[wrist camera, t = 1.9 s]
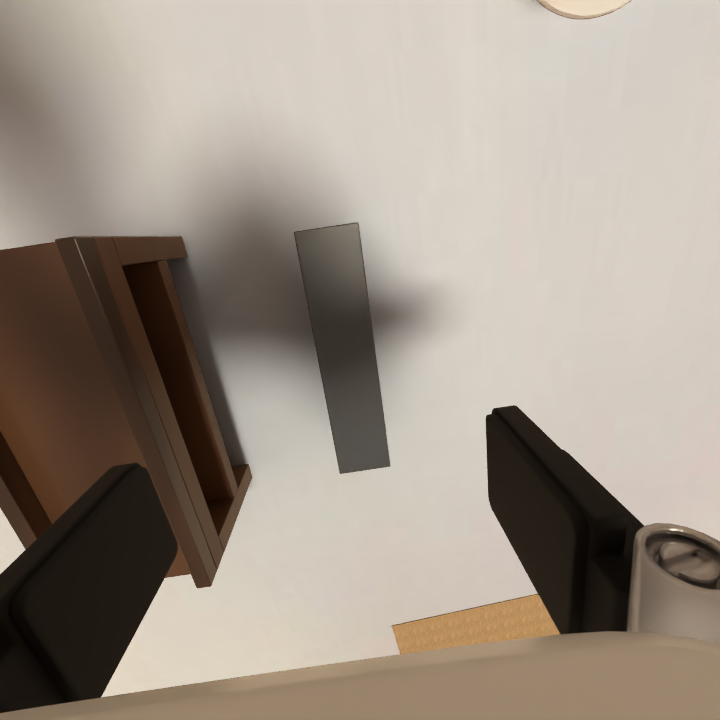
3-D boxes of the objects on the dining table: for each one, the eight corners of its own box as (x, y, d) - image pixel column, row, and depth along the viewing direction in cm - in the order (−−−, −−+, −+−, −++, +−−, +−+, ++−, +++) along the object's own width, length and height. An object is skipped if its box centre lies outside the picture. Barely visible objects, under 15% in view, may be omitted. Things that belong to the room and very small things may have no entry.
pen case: (339, 436, 33) (339, 474, 28) (302, 232, 27) (292, 231, 22) (383, 430, 33) (391, 466, 28) (355, 225, 27) (359, 222, 22)
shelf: (148, 492, 34) (61, 609, 23) (49, 255, 26) (-146, 268, 16) (252, 477, 34) (211, 587, 23) (181, 236, 26) (75, 236, 16)
